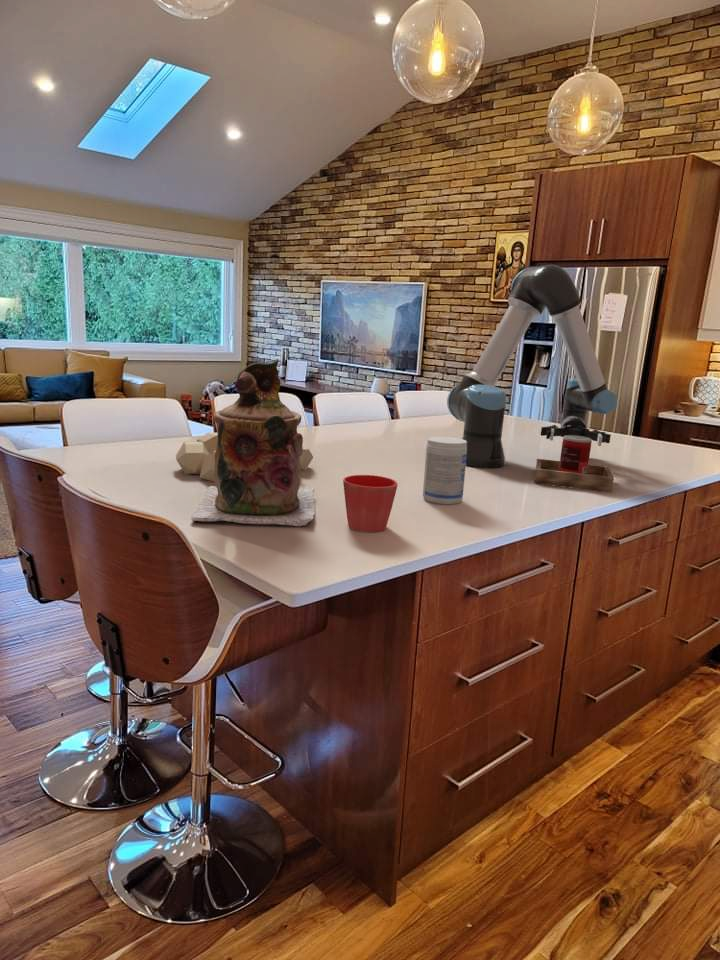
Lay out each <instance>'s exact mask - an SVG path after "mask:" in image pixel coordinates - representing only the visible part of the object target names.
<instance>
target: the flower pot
mask: <svg viewBox="0 0 720 960" xmlns="http://www.w3.org/2000/svg"><path fill="white" fill-rule="evenodd" d="M342 483H343V484H342V485H343V492H344V493H343V494H344V501H345V511H346V518H347V526H348V527H349V528H350V529H352V530H355V531H358V532H363V533H377V532H378V533H380V532H382V531H384V530H386V529H387V525H388V523H389V519H390V516H391V512H392V509H393V505H394V501H395V497H396V492H397V489H398V485H399V484H398V482H397V480H395V479H392V478H390V477H386V476H382V475H381V476H380V475H375V474H374V475H373V474H354V475H353V474H352V475H349V476H345V477H344V478H343V480H342Z"/></svg>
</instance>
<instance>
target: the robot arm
mask: <svg viewBox="0 0 720 960" xmlns="http://www.w3.org/2000/svg"><path fill="white" fill-rule="evenodd" d="M510 290H511V293H510V294H509V297H508V298H507V302H508V308H507V310H506V311H505V313H504V314H503V316H502V318H501V320H500V321H499V323H498V325H497V327H496V329H495V331H494V332H493V334H492V336H491V338H490V339H489V341H488V343H487V344H486V346H485V348H484V350H483V351H482V353H481V356H480V357H479V359H478V361H477V363H476V364H475V366H474V367H473V369H472V371H471V372H470V373H466V374H464V376H463V377H462V379H461V381H460V382H459V384H457V385H455V386H454V387H452V388H451V390H450V391H449V393H448V395H447V398H446V406H447V409H448V412H449V413H450V414H451V416H453V417H454V418H455V419H456V420H458V421H460V422H463V433H462V434H463V435H462V438H461V439H463V440H466V441H467V456H466V466H469V467H475V468H476V467H477V468H485V469H488V468H489V469H491V468H501V467H504V466H505V461H506V457H505V453H504V452H505V451H504V447H503V441H502V436H503V427H504V420H505V413H506V412H505V411H506V405H507V393H506V391H505V390H504V389H502V388H500V387H498V386H496V385H497V382H498V380H499V378H500V377H501V375H502V373H503V372H504V371H505V368H506V366H507V364H508V363H509V362H510V359H511V358H512V357H513V354H514V352H515V351H516V349H517V348H518V346H519V344H520V342H521V340H522V339H523V337H524V335H525V334H526V333H527V331H528V328H529V327H530V325H531V324H532V322H533V320H534V319H536V318H540V317H541V315H542V314H543V312H544V310H545V309H547V311H548V315H549V316H550V317H552V318H554V321H555V324H556V325H557V328H558V331H559V334H560V336H561V339H562V342H563V345H564V347H565V350H566V352H567V355H568V358H569V361H570V363H571V367H572V369H573V371H574V375H575V378H573V377H572V378H569V379H568V380H567V385H566V388H565V397H564V398H565V399H564V407H563V411H562V418H561V421H560V427H559V426H558V425H556V424H553V425H550V426H549V425H547V426H541V429H540V436H546V438H545V439H546V440H547V439H548V440H549V441H554V437H561V438H563V437H564V436H566V435H575V436H583V437H588V438H591V439H592V442H593V441H594V442H596V444H597V446H598V447H602V444H604V443H606V444H610V442H611V434H610V433H606V431H600V430H598V429H596V428H595V429H592V430H590V429H589V428H587V426H586V419H587V418H586V417H587V412H592V413H595V414H600V415H607V414H610V413H612V412H613V411H614V410H615V409H616V407H617V405H618V397H617V395H616V393H615V392H613V391H612V390H610V389H608V386H607V384H606V381H605V378H604V376H603V373H602V370H601V367H600V364H599V362H598V361H599V360H598V359H597V355H596V352H595V350H594V347H593V343H592V341H591V338H590V335H589V332H588V329H587V326H586V323H585V321H584V317H583V315H582V312H581V308H580V307H581V304H582V301H581V298H580V295H579V292H578V290H577V287H576V284H575V283H574V280H573V279H572V277H571V276H570V275H569V273H568V272H567V271H566V269H564V268H563V267H561V266H559V265H556V264H546V265H541V266H530V267H527V268H524V269H523V270H521V271H519V272H518V273H517V274H516V275H515V277H514V278H513V280H512V282H511V285H510Z"/></svg>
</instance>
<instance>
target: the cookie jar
mask: <svg viewBox="0 0 720 960" xmlns="http://www.w3.org/2000/svg"><path fill="white" fill-rule="evenodd" d="M279 360H280V359H279V358H275V360H273V361H272V362H254V363H250V364H249V365H247V366H245V367H244V369H242V370H241V371H240V372H239V373H238V375H237V378H236V382H235V383H234V387H235V388H236V390H237V393H238V395H239V397H238V398H237V400H236V401H235V402H234V403H233V404H231V405H228V406H226V407H224V408H222V409H219V410H217V411H216V412H215V414H214V417H213V420H214V421H215V423H216V424H217V432H218V434H217V436H218V441H217V448H216V452H215V456H214V459H215V472H214V481H213V482H214V484H215V485H214V486H213V485H211V486H209V487H207V489H206V492H205V493H206V494H205V495H203V497H202V499H201V500H200V501H199V503H198V507H196V511H194V513H193V514H192V515H191V521H192V522H194V523H195V522H196V521H198V522H221V521H226V522H229V523H230V522H233V523H238V524H252V525H275V526H276V525H278V526H295V527H303V526H306V525H307V524H308V523H310V522H311V521H313V520H314V517H315V516H316V512H315V510H316V506H315V498H314V495H315V488H314V487H303V488H300V486H301V474H302V470H301V465H300V458H299V457H300V456H301V455H302V453H303V447H302V444H303V441H304V439H303V434H302V433H299V432H298V426H299V425H300V424H301V422H302V415H301V414H300V413H299V412H296V411H292V410H290V408H289V407H287V406H286V405H285V404H284V403H283V402H282V401H281V399H280V395H279V391H280V389H281V383H282V382H281V378H280V377H279V375H280V372H279V370H278V364H279Z"/></svg>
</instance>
